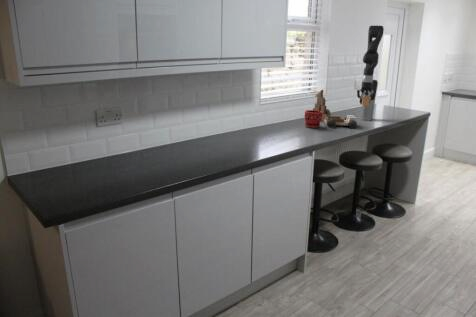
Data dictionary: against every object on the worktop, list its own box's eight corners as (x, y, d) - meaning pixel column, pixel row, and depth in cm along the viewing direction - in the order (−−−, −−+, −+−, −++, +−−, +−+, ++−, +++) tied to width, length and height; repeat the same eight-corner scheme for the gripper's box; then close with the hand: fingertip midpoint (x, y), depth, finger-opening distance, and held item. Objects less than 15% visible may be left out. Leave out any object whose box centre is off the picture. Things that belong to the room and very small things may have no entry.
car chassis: (323, 122, 313) (324, 113, 311) (351, 123, 312) (352, 114, 310) (327, 127, 297) (328, 117, 295) (356, 128, 296) (357, 118, 294)
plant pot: (322, 128, 292) (324, 113, 288) (305, 128, 292) (306, 112, 288) (319, 125, 304) (320, 109, 301) (302, 124, 304) (303, 109, 300)
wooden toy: (330, 121, 319) (333, 90, 311) (325, 122, 314) (328, 91, 307) (315, 118, 330) (317, 88, 322) (310, 119, 325) (312, 88, 318)
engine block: (359, 104, 304) (360, 96, 302) (366, 104, 303) (367, 96, 302) (362, 105, 297) (363, 97, 295) (368, 105, 297) (370, 98, 295)
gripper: (375, 81, 298) (372, 103, 303) (356, 80, 299) (353, 102, 304) (378, 82, 291) (375, 104, 296) (359, 81, 292) (356, 104, 297)
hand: (364, 103), depth 300 cm, fingers closed on engine block, 5 cm apart
